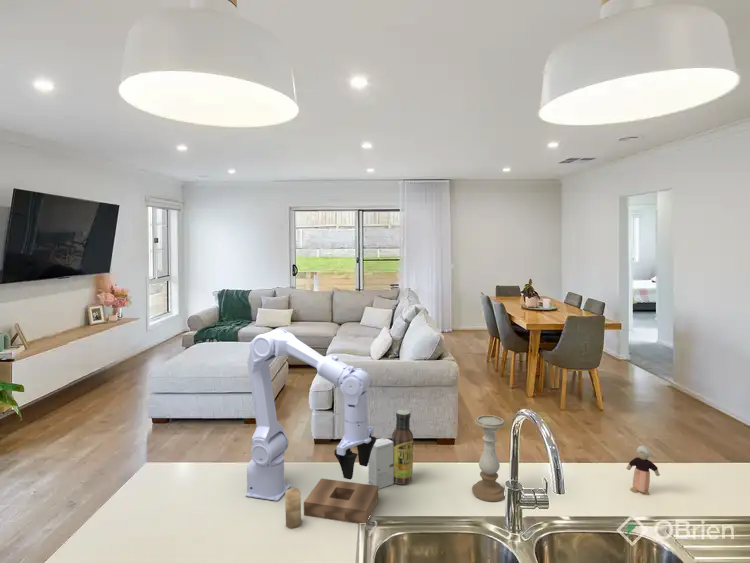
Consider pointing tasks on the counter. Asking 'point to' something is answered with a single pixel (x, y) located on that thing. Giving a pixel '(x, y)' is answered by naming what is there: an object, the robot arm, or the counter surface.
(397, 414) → the sauce bottle
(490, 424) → the candle holder
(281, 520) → the counter surface
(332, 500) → the walnut board
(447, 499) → the counter surface
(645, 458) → the grandmother figurine
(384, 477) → the skincare box
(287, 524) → the oak peg
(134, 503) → the counter surface
